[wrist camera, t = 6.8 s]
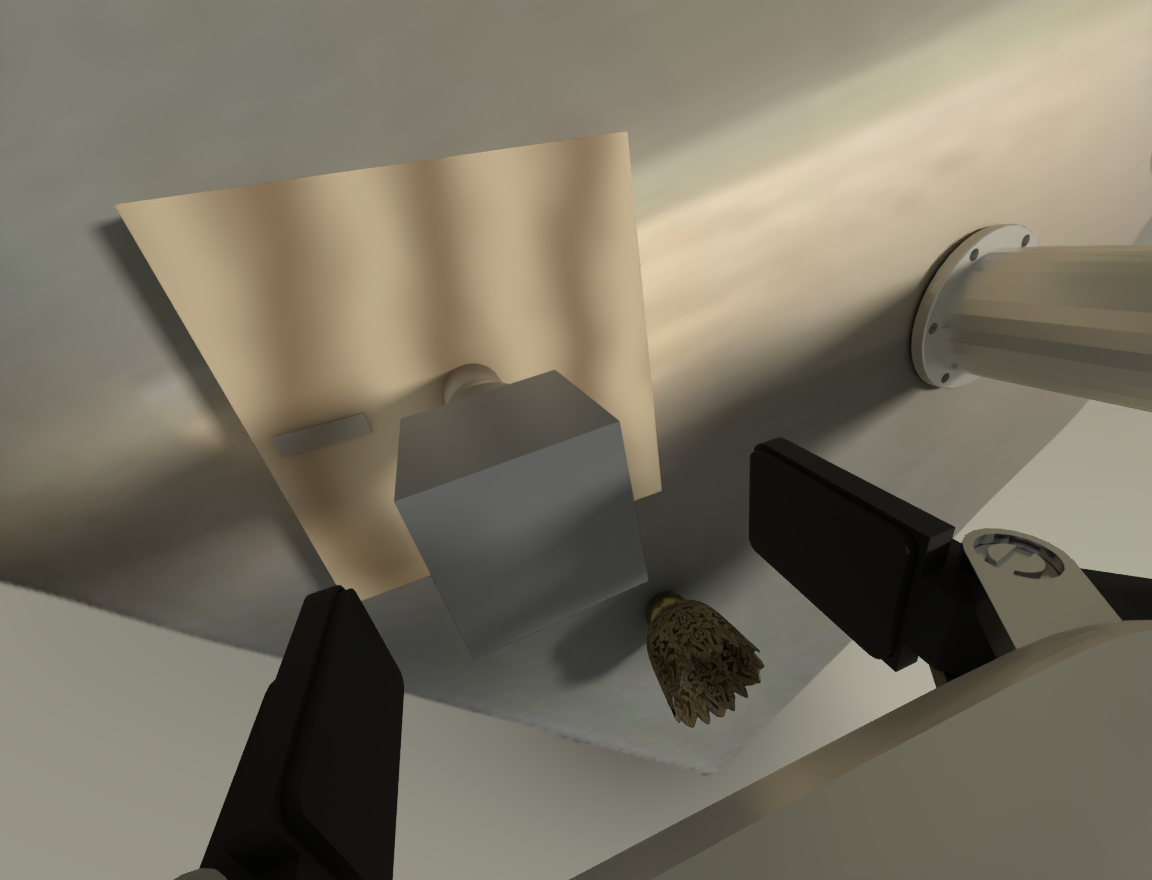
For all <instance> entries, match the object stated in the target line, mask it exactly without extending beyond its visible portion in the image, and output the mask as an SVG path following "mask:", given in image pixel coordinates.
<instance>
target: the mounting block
mask: <svg viewBox="0 0 1152 880" xmlns="http://www.w3.org/2000/svg"><path fill="white" fill-rule="evenodd" d="M115 207H116V209H117V210H118V212H119V214H120V215H121V217H122V219H123V221H124V222H125V224H126V226H127V227H128V229H129V231H130V233H131V234H132V236H133V238H134V239H135V241H136V243H137V245H138V246H139V248H140V250H141V251H142V253H143V255H144V257H145V258H146V260H147V262H148V263H149V265H150V267H151V268H152V270H153V272H154V274H155V275H156V277H157V279H158V280H159V282H160V284H161V286H162V287H163V289H164V291H165V292H166V294H167V296H168V298H169V299H170V301H171V303H172V304H173V306H174V308H175V310H176V311H177V313H178V315H179V316H180V318H181V320H182V322H183V323H184V325H185V327H186V328H187V330H188V332H189V334H190V335H191V337H192V339H193V340H194V342H195V344H196V346H197V347H198V349H199V351H200V352H201V354H202V356H203V358H204V359H205V361H206V363H207V364H208V366H209V368H210V370H211V371H212V373H213V375H214V376H215V378H216V380H217V382H218V383H219V385H220V387H221V388H222V390H223V392H224V393H225V395H226V397H227V399H228V400H229V402H230V404H231V405H232V407H233V409H234V411H235V412H236V414H237V416H238V417H239V419H240V421H241V423H242V424H243V426H244V428H245V429H246V431H247V433H248V435H249V436H250V438H251V440H252V441H253V443H254V445H255V447H256V448H257V450H258V452H259V453H260V455H261V457H262V459H263V460H264V462H265V464H266V465H267V467H268V469H269V471H270V472H271V474H272V476H273V477H274V479H275V481H276V483H277V484H278V486H279V488H280V489H281V491H282V493H283V495H284V496H285V498H286V500H287V501H288V503H289V505H290V506H291V508H292V510H293V512H294V513H295V515H296V517H297V518H298V520H299V522H300V524H301V525H302V527H303V529H304V530H305V532H306V534H307V536H308V537H309V539H310V541H311V542H312V544H313V546H314V548H315V549H316V551H317V553H318V554H319V556H320V558H321V560H322V561H323V563H324V565H325V566H326V568H327V570H328V572H329V573H330V575H331V577H332V578H333V580H334V582H335V584H336V585H341V586H342V587H344V589H345V590H347V589H350V588H353V589H354V590H355V591H356V593H357V595H358V596H359V598H360V600H361V601H363V600H365V599H368V598H371V597H373V596H376V595H379V594H382V593H384V592H387V591H390V590H393V589H395V588H398V587H401V586H403V585H406V584H409V583H412V582H414V581H417V580H420V579H423V578H425V577H428V576H431V574H430V572H429V570H428V568H427V566H426V564H425V562H424V560H423V559H422V557H421V555H420V553H419V551H418V549H417V547H416V545H415V543H414V541H413V539H412V537H411V535H410V533H409V531H408V529H407V527H406V525H405V523H404V521H403V519H402V517H401V515H400V513H399V511H398V509H397V507H396V505H395V503H394V495H395V482H396V470H397V458H398V445H399V433H400V420H401V418H404V417H407V416H410V415H414V414H417V413H420V412H423V411H426V410H429V409H432V408H436V407H439V406H442V405H445V404H447V403H448V402H449V401H450V400H451V399H452V398H453V397H455V396H456V395H457V394H459V393H460V392H462V391H464V390H466V389H467V388H470V387H472V386H475V385H478V384H483V383H490V382H501V383H508V384H511V383H514V382H517V381H520V380H524V379H527V378H530V377H533V376H536V375H539V374H542V373H546V372H549V371H552V370H556V371H558V372H559V373H560V374H561V375H563V376H564V377H565V378H566V379H568V380H569V381H570V382H571V383H573V384H574V385H575V386H576V387H578V388H579V389H580V390H581V391H583V392H584V393H585V394H586V395H588V396H589V397H590V398H591V399H593V400H594V401H595V402H596V403H598V404H599V405H600V406H601V407H603V408H604V409H605V410H607V411H608V412H609V413H610V414H612V415H613V416H614V417H615V418H617V419H618V420H619V421H620V425H621V431H622V436H623V442H624V447H625V453H626V458H627V464H628V469H629V475H630V480H631V486H632V491H633V497H634V501H635V500H638V499H641V498H643V497H646V496H649V495H652V494H654V493H657V492H660V491H662V488H661V477H660V467H659V456H658V446H657V436H656V425H655V415H654V405H653V394H652V384H651V373H650V363H649V353H648V342H647V332H646V321H645V311H644V301H643V290H642V280H641V269H640V259H639V249H638V238H637V228H636V217H635V207H634V197H633V186H632V176H631V165H630V155H629V145H628V134H627V132H620V133H613V134H606V135H599V136H592V137H585V138H578V139H571V140H564V141H557V142H550V143H543V144H536V145H529V146H522V147H515V148H508V149H501V150H494V151H487V152H480V153H473V154H466V155H459V156H452V157H445V158H438V159H431V160H424V161H417V162H410V163H403V164H396V165H389V166H382V167H375V168H368V169H361V170H354V171H347V172H340V173H333V174H326V175H319V176H312V177H305V178H298V179H291V180H284V181H278V182H271V183H264V184H257V185H250V186H243V187H236V188H229V189H222V190H215V191H208V192H201V193H194V194H187V195H180V196H173V197H166V198H159V199H152V200H145V201H138V202H131V203H124V204H117V205H115Z"/></svg>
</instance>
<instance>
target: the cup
mask: <svg viewBox="0 0 1152 880" xmlns="http://www.w3.org/2000/svg"><path fill="white" fill-rule="evenodd" d="M646 620H647V624H648V626H649V629H648V632H647V642H646V643H647V651H648V655H649V659H650V662H651V665H652V667H653V670H654V672H655V674H656V677H657V679H658V681H659V684H660V686H661V688H662V691H663V693H664V695H665V697H666V700H667V702H668V704H669V706H670V708H671V710H672V712H673V715H674V717H675V719H676V720H677V721H678V723H680V722H681V721H682V722H683V723H684V724H685V725H687V726H689V727H691V728H694V726H695V723H696V719H697V718H698V717H699V718H700V719H701V721H703V722H704V723H706V724H709V723H710V715H709V711H710V712H712V713H713V714H714V715H716V716H717V717H724V716H725V713H726V710H727V709H730V710H732V711H735V694H734V692H735V693H737V694H739V695H740V696H743V697H745V698H748V694H747V690H746V688H745V686H749V685H750V686H751V685H754V684H757V683H760V682H761V677H760V673H759V672H760V670H761V669H762V668H764V664H763V662H762V661H761V660H760V659H759V658H758V657H757V655H756V654H755V653H754V652H755V651H758V652H760V651H759V649H758V648H756V647H755V646H754V645H753V644H752V643H751V642H750V641H749V640H747V639H746V638H745V637H744V636H743V635H742V634H741V633H740V632H739V631H738V630H737V629H736V628H735V627H734V626H732V625H731V624H730V623H729V622H728V621H727V620H726V619H725V618H724V617H723V616H721V615H720V614H719V613H718V612H717V611H715V610H714V609H712V608H711V607H709V606H708V605H706V604H704V603H702V602H699V601H695V600H685V599H684V598H683V597H682V596H680V595H679V594H676V593H673V592H666V593H662V594H660V595H658V596H657V597H655V598H654V599H653V600H652V601H651V602H650V604H649V605H648V607H647V610H646ZM759 669H760V670H759ZM746 684H747V685H746ZM726 708H727V709H726ZM707 709H708V712H707Z"/></svg>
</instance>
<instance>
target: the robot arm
mask: <svg viewBox="0 0 1152 880" xmlns="http://www.w3.org/2000/svg"><path fill="white" fill-rule="evenodd" d="M911 352H912V360H913V364H914V367H915V370H916V372H917V373H918V375H919V377H920V378H921V379H922V380H923V381H925V382H926V383H927V384H930V385H933V386H937V387H941V388H947V389H952V388H959V387H962V386H964V385H967V384H969V383H971V382H973V381H975V380H976V379H978V378H980V377H981V376H982V377H987V378H992V379H996V380H1001V381H1006V382H1011V383H1015V384H1020V385H1025V386H1029V387H1034V388H1039V389H1044V390H1048V391H1053V392H1058V393H1063V394H1067V395H1072V396H1077V397H1082V398H1086V399H1092V400H1096V401H1101V402H1105V403H1110V404H1115V405H1120V406H1124V407H1129V408H1134V409H1139V410H1143V411H1148V412H1152V245H1096V246H1039V242H1038V240H1037V238H1036V237H1035V235H1034V234H1033V232H1032V231H1031V230H1029V229H1028V228H1027V227H1025V226H1022V225H1018V224H1002V225H994V226H990V227H986V228H984V229H982V230H980V231H978V232H976V233H975V234H973V235H972V236H970V237H969V238H968V239H967V240H965V241H964V242H963V243H961V244H960V245H959V246H958V247H957V248H956V249H955V250H954V251H953V252H952V253H951V254H950V255H949V257H948V258H947V259H946V260H945V262H944V263H943V264H942V266H941V267H940V268H939V270H938V271H937V273H936V274H935V276H934V278H933V279H932V281H931V282H930V284H929V286H928V288H927V290H926V292H925V294H924V296H923V299H922V301H921V303H920V306H919V309H918V312H917V315H916V318H915V322H914V327H913V331H912V341H911ZM954 530H955V527H954V526H952V525H950V524H948V523H946V522H944V521H942V520H940V519H938V518H936V517H935V516H933V515H931V514H929V513H927V512H925V511H923V510H921V509H919V508H917V507H915V506H913V505H911V504H909V503H907V502H906V501H904V500H902V499H900V498H898V497H896V496H894V495H892V494H890V493H888V492H886V491H884V490H882V489H880V488H878V487H877V486H875V485H873V484H871V483H869V482H867V481H865V480H863V479H861V478H859V477H857V476H855V475H853V474H851V473H849V472H848V471H846V470H844V469H842V468H840V467H838V466H836V465H834V464H832V463H830V462H828V461H826V460H824V459H822V458H820V457H818V456H817V455H815V454H813V453H811V452H809V451H807V450H805V449H803V448H801V447H799V446H797V445H795V444H793V443H791V442H789V441H788V440H786V439H783V438H775V439H772V440H769V441H766V442H763V443H760V444H758V445H756V447H755V449H754V452H753V453H752V454H751V455H750V493H749V540H750V543H751V545H752V547H753V549H754V550H755V551H756V552H757V553H758V554H759V555H760V556H761V557H762V558H763V559H764V560H766V561H767V562H768V563H769V564H770V565H771V566H772V567H773V568H774V569H775V570H777V571H778V572H779V573H780V574H781V575H782V576H783V577H784V578H785V579H786V580H788V581H789V582H790V583H791V584H792V585H793V586H794V587H795V588H796V589H797V590H799V591H800V592H801V593H802V594H803V595H804V596H805V597H806V598H807V599H808V600H810V601H811V602H812V603H813V604H814V605H815V606H816V607H817V608H818V609H819V610H821V611H822V612H823V613H824V614H825V615H826V616H827V617H828V618H829V619H830V620H832V621H833V622H834V623H835V624H836V625H837V626H838V627H839V628H840V629H841V630H843V631H844V632H845V633H846V634H847V635H848V636H849V637H850V638H851V639H852V640H854V641H855V642H856V643H857V644H858V645H859V646H860V647H861V648H862V649H863V650H865V651H866V652H867V653H868V654H869V655H871V656H872V657H874V658H876V659H882V660H883V661H884V662H885V663H886V664H887V665H888V666H889V667H891V668H892V669H893V670H894V671H895V672H897V671H899V670H901V669H903V668H905V667H907V666H909V665H911V664H913V663H915V662H917V659H918V656H920V658H922V659H923V660H924V661H925V662H927V663H928V664H929V666H930V669H931V672H932V676H933V679H934V682H935V685H936V689H934V690H932V691H930V692H928V693H927V694H925V695H922V696H920V697H918V698H917V699H915V700H913V701H911V702H909V703H907V704H905V705H903V706H901V707H899V708H897V709H895V710H893V711H891V712H889V713H888V714H886V715H883V716H882V717H880V718H878V719H876V720H874V721H872V722H870V723H868V724H866V725H864V726H862V727H860V728H858V729H856V730H855V731H852V732H850V733H849V734H847V735H845V736H843V737H841V738H839V739H837V740H835V741H833V742H831V743H829V744H827V745H825V746H824V747H821V748H819V749H818V750H816V751H814V752H812V753H810V754H808V755H806V756H804V757H802V758H800V759H798V760H797V761H795V762H793V763H791V764H789V765H787V766H785V767H783V768H781V769H779V770H777V771H775V772H774V773H772V774H770V775H768V776H766V777H764V778H762V779H760V780H758V781H756V782H754V783H752V784H750V785H748V786H747V787H745V788H743V789H741V790H739V791H737V792H735V793H733V794H731V795H729V796H727V797H725V798H724V799H722V800H720V801H718V802H716V803H714V804H712V805H710V806H708V807H706V808H705V809H703V810H701V811H699V812H697V813H695V814H693V815H691V816H689V817H687V818H685V819H683V820H682V821H680V822H678V823H676V824H674V825H672V826H670V827H668V828H666V829H664V830H663V831H661V832H659V833H657V834H655V835H653V836H651V837H649V838H647V839H645V840H644V841H642V842H640V843H638V844H636V845H634V846H632V847H630V848H628V849H627V850H625V851H623V852H621V853H619V854H617V855H615V856H613V857H612V858H610V859H608V860H606V861H604V862H602V863H600V864H598V865H596V866H594V867H592V868H591V869H589V870H587V871H585V872H583V873H581V874H579V875H578V876H576V877H574V878H572V879H570V880H1152V579H1148V578H1142V577H1135V576H1128V575H1122V574H1115V573H1108V572H1101V571H1094V570H1088V569H1081V568H1079V566H1078V565H1077V564H1076V563H1075V561H1074V560H1073V559H1071V558H1070V557H1069V556H1068V555H1067V554H1066V553H1065V552H1064V551H1062V550H1060V549H1059V548H1057V547H1055V546H1054V545H1052V544H1050V543H1048V542H1046V541H1043V540H1041V539H1039V538H1037V537H1034V536H1031V535H1028V534H1024V533H1020V532H1017V531H1012V530H1005V529H990V528H987V529H985V528H984V529H979V530H974V531H972V532H970V533H968V534H967V535H965V537H964V539H963V541H962V544H961V543H959V542H958V541H956V540H954V539H952V537H953V534H954ZM403 698H404V683H403V678H402V674H401V672H400V670H399V668H398V666H397V664H396V663H395V661H394V659H393V657H392V656H391V654H390V652H389V650H388V648H387V647H386V645H385V643H384V641H383V639H382V638H381V636H380V634H379V632H378V630H377V629H376V627H375V625H374V623H373V621H372V620H371V618H370V616H369V614H368V613H367V611H366V609H365V607H364V605H363V604H362V602H361V600H360V598H359V596H358V595H357V593H356V591H355V590H354V589H353V588H350V589H347V590H345V589H344V587H342V586H341V585H336V586H333V587H330V588H327V589H324V590H321V591H318V592H315V593H312V594H309V595H308V596H306V598H305V600H304V603H303V605H302V608H301V611H300V614H299V616H298V619H297V622H296V624H295V627H294V630H293V633H292V635H291V638H290V641H289V644H288V646H287V649H286V652H285V655H284V657H283V660H282V663H281V665H280V668H279V671H278V674H277V677H276V679H275V680H274V681H273V682H272V683H271V684H270V686H269V688H268V690H267V691H266V693H265V696H264V698H263V701H262V704H261V706H260V709H259V712H258V715H257V717H256V720H255V722H254V725H253V727H252V730H251V733H250V736H249V738H248V741H247V743H246V746H245V749H244V751H243V755H242V757H241V759H240V762H239V765H238V767H237V770H236V773H235V775H234V778H233V781H232V783H231V786H230V788H229V791H228V794H227V797H226V799H225V802H224V805H223V807H222V810H221V812H220V815H219V818H218V820H217V823H216V826H215V828H214V831H213V834H212V836H211V839H210V841H209V844H208V847H207V850H206V852H205V855H204V857H203V860H202V863H201V865H200V868H199V869H197V870H194V871H191V872H188V873H186V874H183V875H181V876H179V877H178V878H176V879H174V880H392V879H393V863H394V848H395V831H396V830H395V829H396V815H397V798H398V780H399V765H400V749H401V732H402V731H401V730H402V716H403Z"/></svg>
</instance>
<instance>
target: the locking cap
mask: <svg viewBox="0 0 1152 880" xmlns="http://www.w3.org/2000/svg"><path fill="white" fill-rule="evenodd" d="M394 503H395V505H396V507H397V509H398V511H399V513H400V515H401V517H402V519H403V521H404V523H405V525H406V527H407V529H408V531H409V533H410V535H411V537H412V539H413V541H414V543H415V545H416V547H417V549H418V551H419V553H420V555H421V557H422V559H423V560H424V562H425V564H426V566H427V568H428V570H429V572H430V574H431V576H432V578H433V580H434V582H435V584H436V586H437V588H438V590H439V592H440V594H441V596H442V598H443V600H444V602H445V604H446V606H447V608H448V610H449V612H450V614H451V616H452V618H453V620H454V622H455V624H456V626H457V628H458V630H459V632H460V634H461V636H462V638H463V640H464V642H465V644H466V645H467V647H468V649H469V651H470V653H471V655H472V657H473V659H474V660H475V659H477V658H479V657H482V656H484V655H486V654H488V653H490V652H493V651H495V650H497V649H499V648H501V647H504V646H506V645H508V644H510V643H512V642H515V641H517V640H519V639H521V638H523V637H526V636H528V635H530V634H532V633H534V632H537V631H539V630H541V629H543V628H545V627H548V626H550V625H552V624H554V623H557V622H559V621H561V620H563V619H565V618H568V617H570V616H572V615H574V614H576V613H579V612H581V611H583V610H585V609H587V608H590V607H592V606H594V605H596V604H598V603H601V602H603V601H605V600H607V599H609V598H612V597H614V596H616V595H618V594H620V593H623V592H625V591H627V590H629V589H631V588H634V587H636V586H638V585H640V584H642V583H645V582H647V581H649V580H648V574H647V569H646V563H645V558H644V552H643V547H642V541H641V536H640V530H639V524H638V519H637V513H636V508H635V502H634V497H633V491H632V486H631V480H630V475H629V469H628V464H627V458H626V453H625V447H624V442H623V436H622V431H621V425H620V421H619V420H618V419H617V418H615V417H614V416H613V415H612V414H610V413H609V412H608V411H607V410H605V409H604V408H603V407H601V406H600V405H599V404H598V403H596V402H595V401H594V400H593V399H591V398H590V397H589V396H588V395H586V394H585V393H584V392H583V391H581V390H580V389H579V388H578V387H576V386H575V385H574V384H573V383H571V382H570V381H569V380H568V379H566V378H565V377H564V376H563V375H561V374H560V373H559V372H558V371H556V370H552V371H549V372H546V373H542V374H539V375H536V376H533V377H530V378H527V379H524V380H520V381H517V382H514V383H511V384H508V383H501V382H490V383H483V384H478V385H475V386H472V387H470V388H467V389H466V390H464V391H462V392H460V393H459V394H457V395H456V396H455V397H453V398H452V399H451V400H450V401H449V402H448V403H447V404H445V405H442V406H439V407H436V408H432V409H429V410H426V411H423V412H420V413H417V414H414V415H410V416H407V417H404V418H401V420H400V433H399V445H398V458H397V470H396V482H395V495H394Z"/></svg>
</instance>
